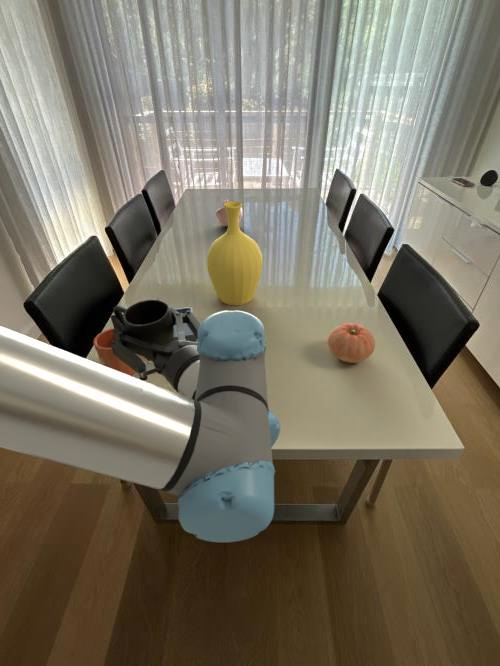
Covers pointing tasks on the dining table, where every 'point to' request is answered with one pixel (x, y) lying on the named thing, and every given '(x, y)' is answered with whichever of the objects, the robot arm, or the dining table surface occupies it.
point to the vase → (234, 261)
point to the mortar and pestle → (225, 215)
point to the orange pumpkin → (351, 342)
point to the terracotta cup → (109, 352)
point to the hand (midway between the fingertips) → (136, 313)
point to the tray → (185, 326)
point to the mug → (147, 321)
